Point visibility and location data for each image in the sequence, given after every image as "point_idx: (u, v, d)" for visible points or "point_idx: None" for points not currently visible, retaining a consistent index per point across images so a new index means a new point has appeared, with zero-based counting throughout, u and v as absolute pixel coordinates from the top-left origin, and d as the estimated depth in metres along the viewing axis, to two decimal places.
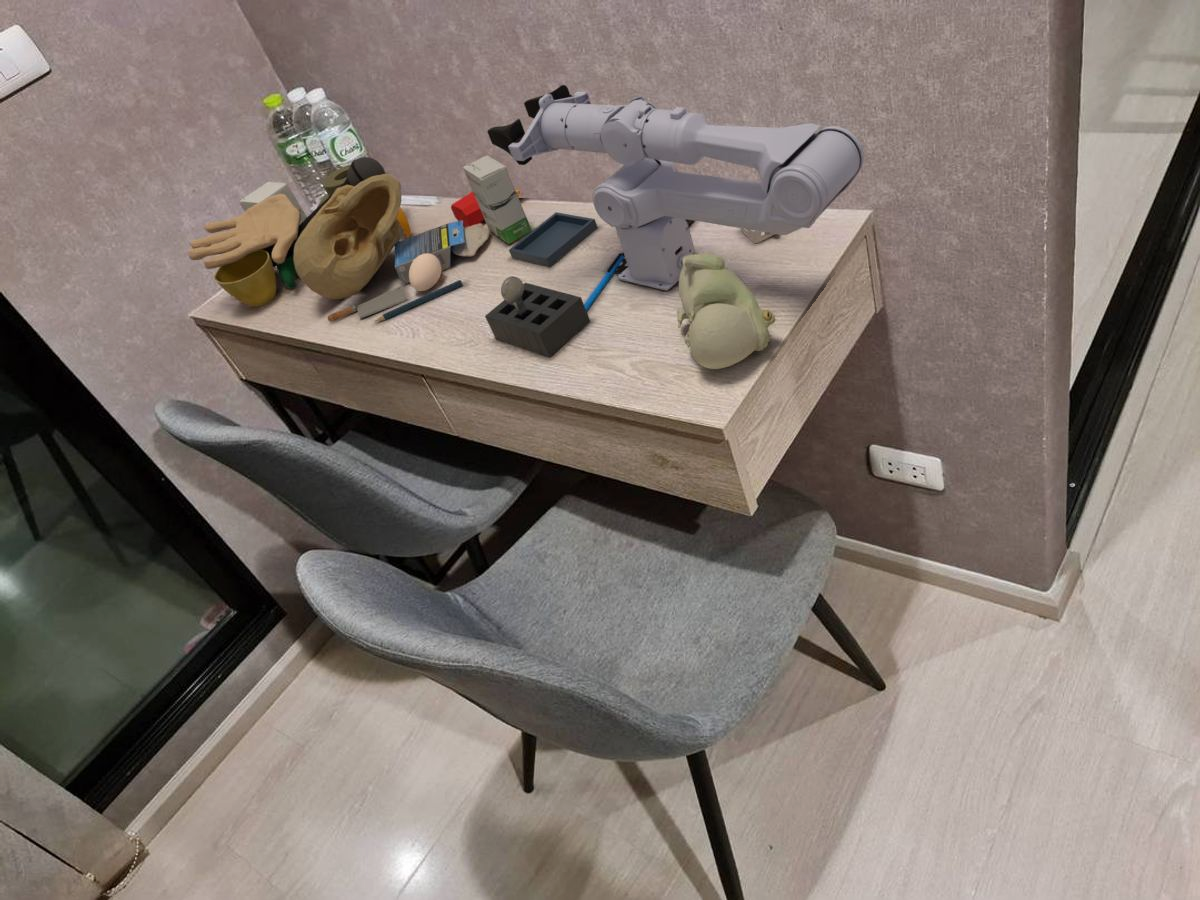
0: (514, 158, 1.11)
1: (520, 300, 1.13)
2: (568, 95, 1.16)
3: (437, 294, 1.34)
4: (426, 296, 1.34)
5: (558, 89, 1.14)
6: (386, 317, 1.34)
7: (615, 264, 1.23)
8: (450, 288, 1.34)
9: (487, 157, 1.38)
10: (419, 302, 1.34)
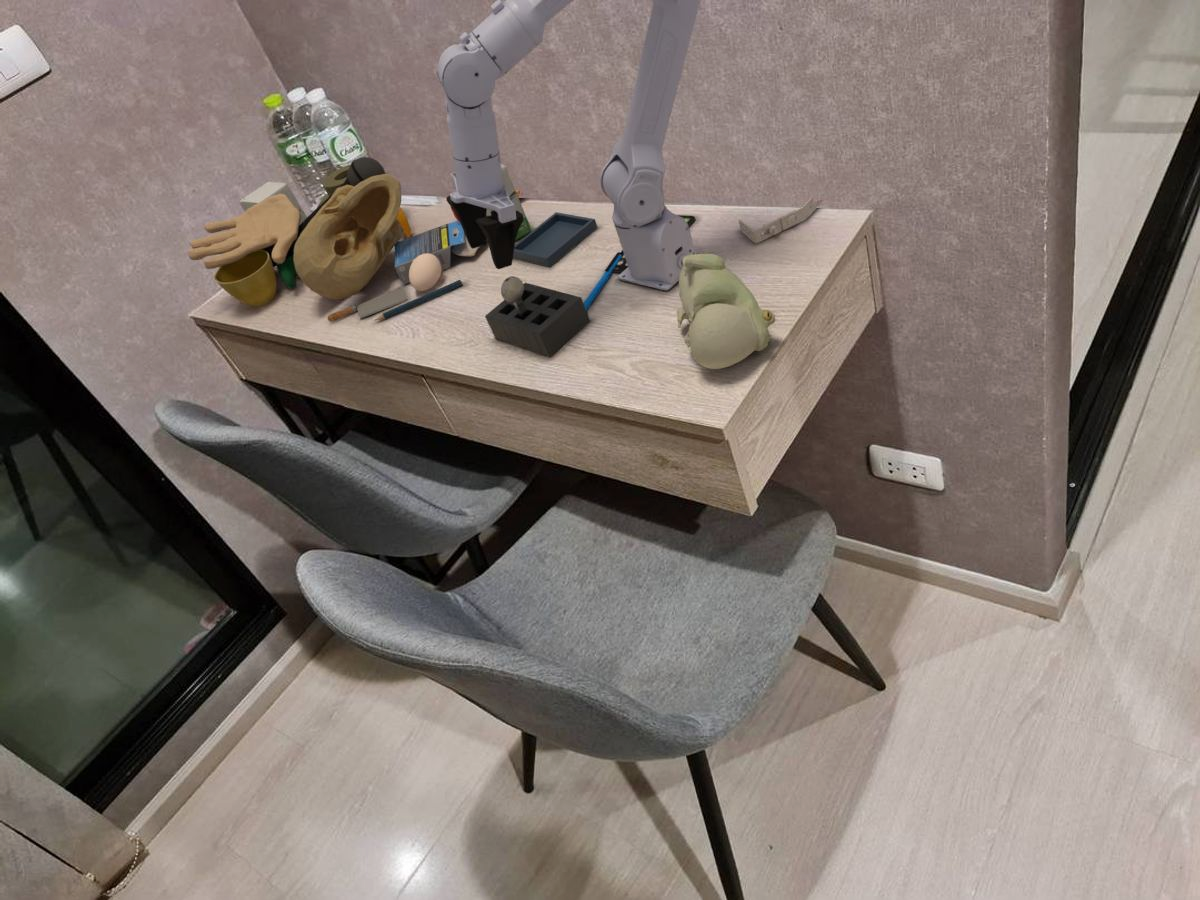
0: (514, 217, 1.03)
1: (520, 300, 1.13)
2: None
3: (437, 294, 1.34)
4: (426, 296, 1.34)
5: (450, 200, 1.10)
6: (386, 316, 1.34)
7: (613, 263, 1.23)
8: (450, 288, 1.34)
9: None
10: (418, 301, 1.34)
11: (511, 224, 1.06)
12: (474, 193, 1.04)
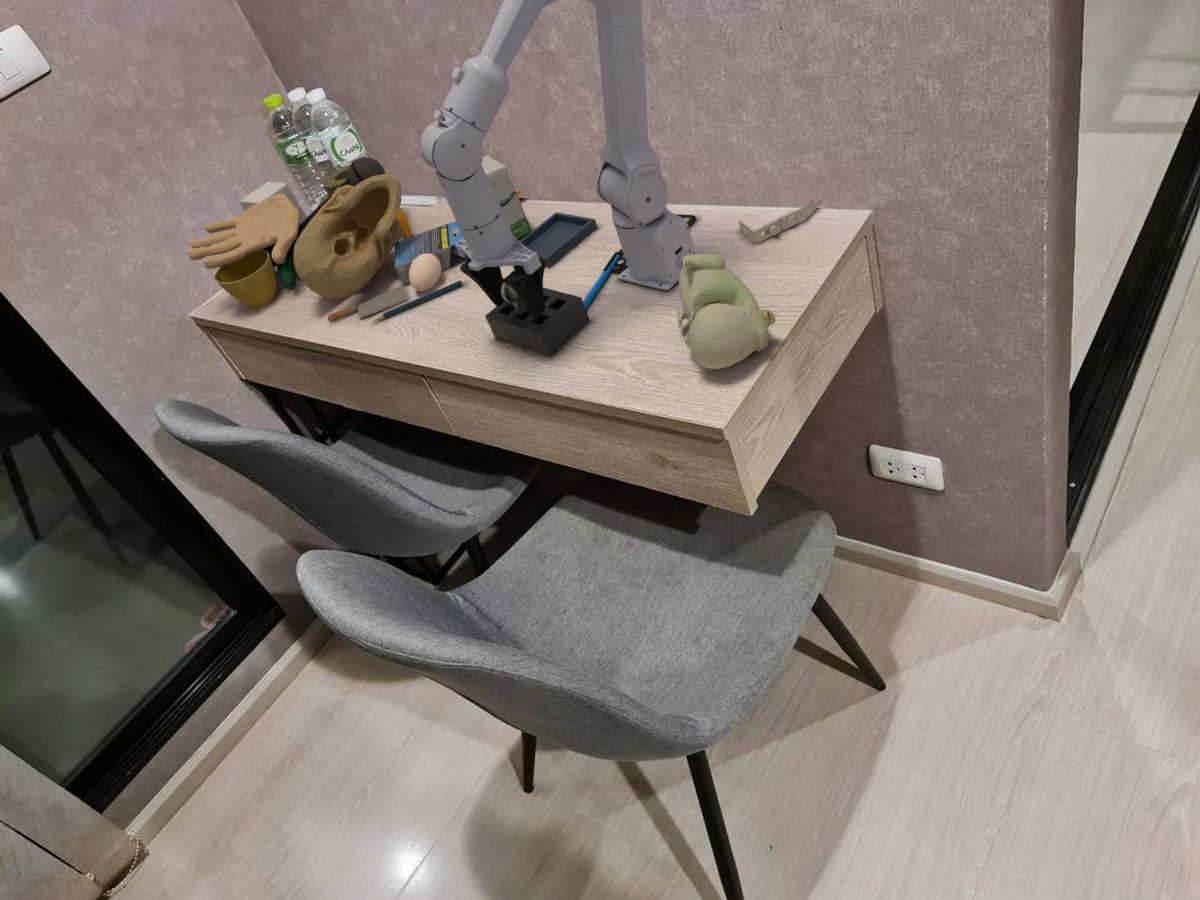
0: (539, 264, 1.04)
1: (520, 300, 1.13)
2: (467, 261, 1.13)
3: (437, 294, 1.34)
4: (426, 296, 1.34)
5: (465, 269, 1.11)
6: (386, 316, 1.34)
7: (611, 263, 1.23)
8: (451, 288, 1.34)
9: (487, 157, 1.38)
10: (419, 302, 1.34)
11: (536, 271, 1.07)
12: (492, 255, 1.05)
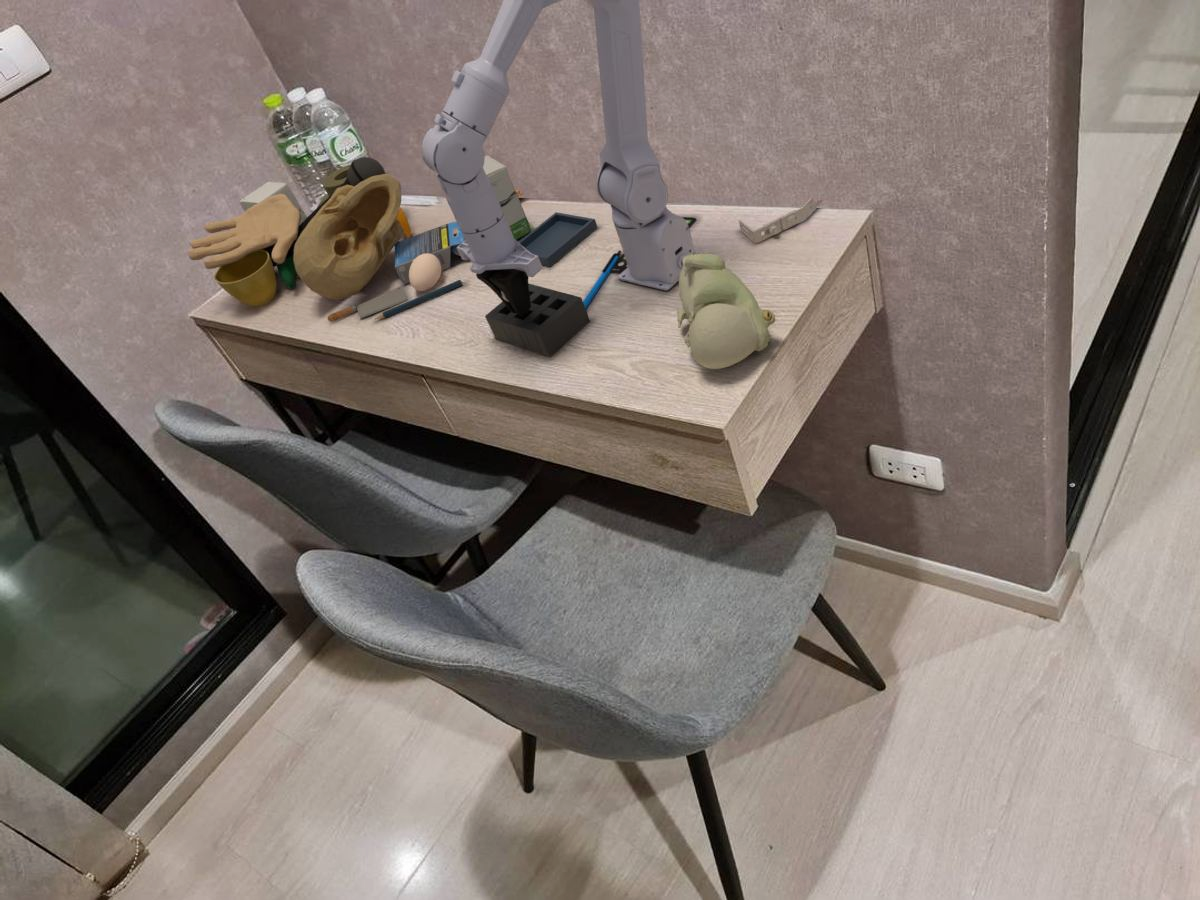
0: (540, 267, 1.05)
1: None
2: None
3: (437, 293, 1.34)
4: (426, 295, 1.34)
5: (481, 276, 1.09)
6: (386, 315, 1.34)
7: (610, 264, 1.23)
8: (450, 288, 1.34)
9: (487, 157, 1.38)
10: (418, 301, 1.34)
11: (521, 270, 1.09)
12: (494, 258, 1.06)
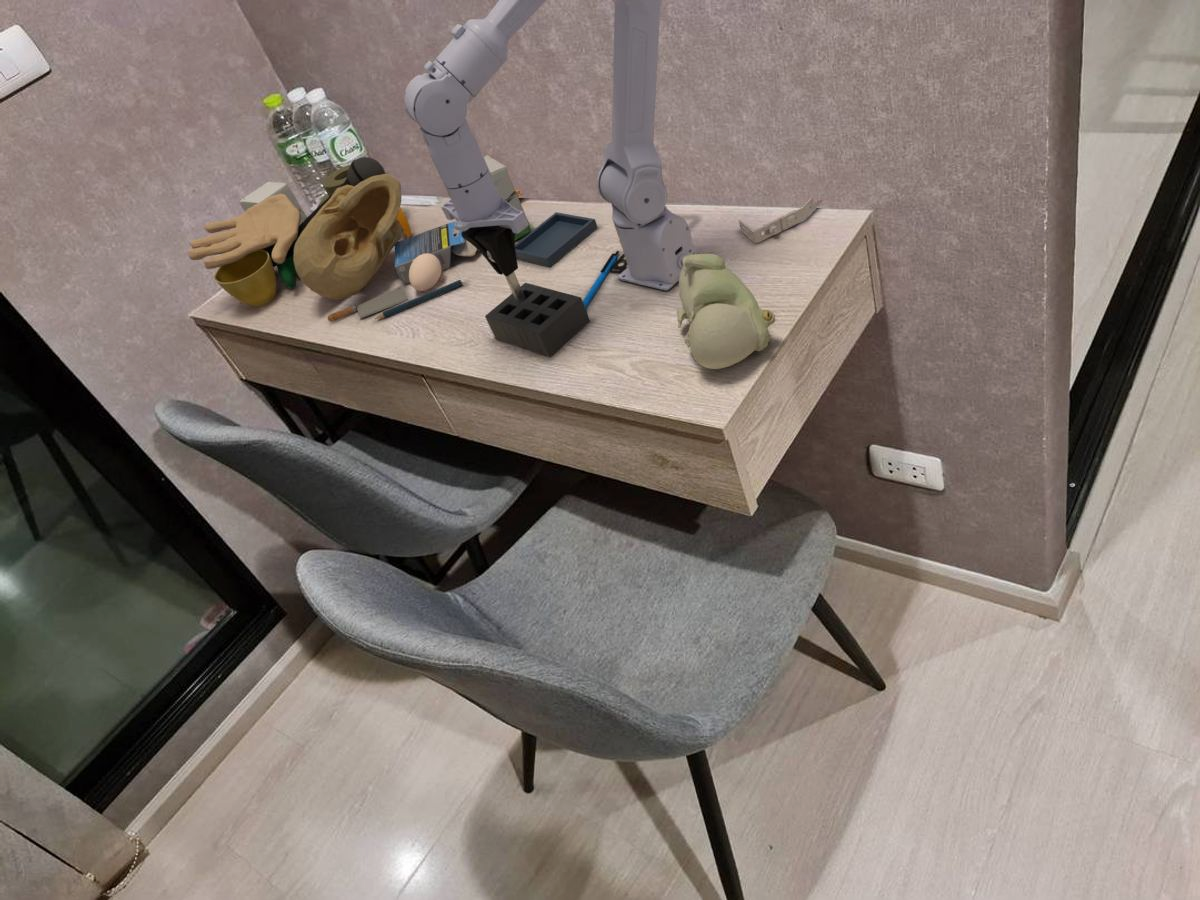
0: (526, 223, 1.02)
1: None
2: None
3: (437, 293, 1.34)
4: (426, 295, 1.34)
5: (466, 235, 1.07)
6: (385, 315, 1.34)
7: (608, 264, 1.24)
8: (450, 288, 1.34)
9: (487, 157, 1.38)
10: (418, 301, 1.34)
11: (507, 229, 1.07)
12: (478, 215, 1.03)
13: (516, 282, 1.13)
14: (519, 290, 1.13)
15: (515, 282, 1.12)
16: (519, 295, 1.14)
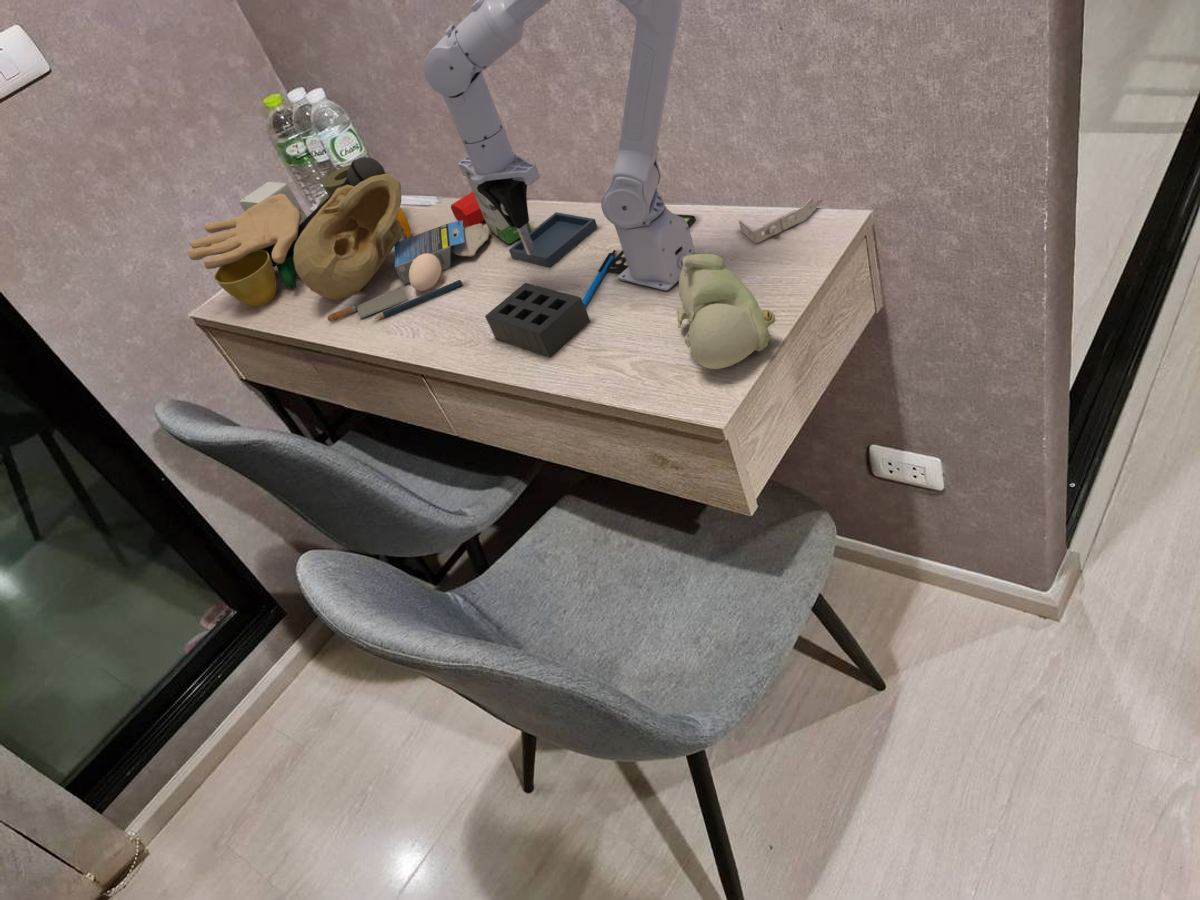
0: (538, 176, 1.10)
1: None
2: (483, 182, 1.16)
3: (437, 293, 1.34)
4: (426, 295, 1.34)
5: (482, 189, 1.15)
6: (385, 315, 1.34)
7: (606, 264, 1.24)
8: (450, 288, 1.34)
9: None
10: (418, 300, 1.34)
11: (519, 183, 1.15)
12: (494, 169, 1.11)
13: (527, 235, 1.21)
14: (530, 243, 1.22)
15: (526, 235, 1.21)
16: (530, 248, 1.22)
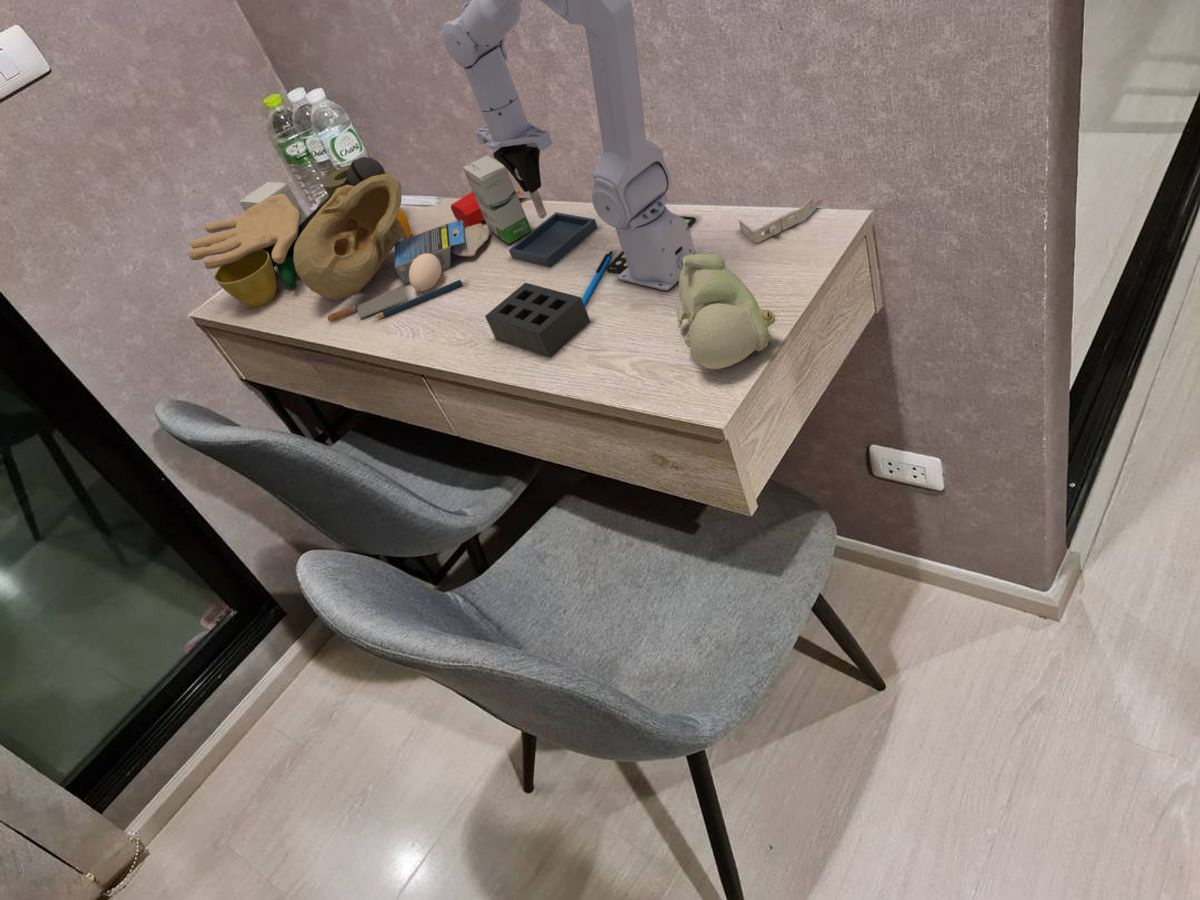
0: (550, 142, 1.19)
1: None
2: (499, 148, 1.25)
3: (437, 293, 1.34)
4: (426, 295, 1.34)
5: (498, 155, 1.24)
6: (385, 314, 1.34)
7: (603, 264, 1.24)
8: (450, 288, 1.34)
9: (487, 157, 1.38)
10: (418, 300, 1.34)
11: (533, 149, 1.24)
12: (509, 135, 1.20)
13: (539, 199, 1.30)
14: (542, 207, 1.30)
15: (538, 199, 1.29)
16: (541, 211, 1.31)
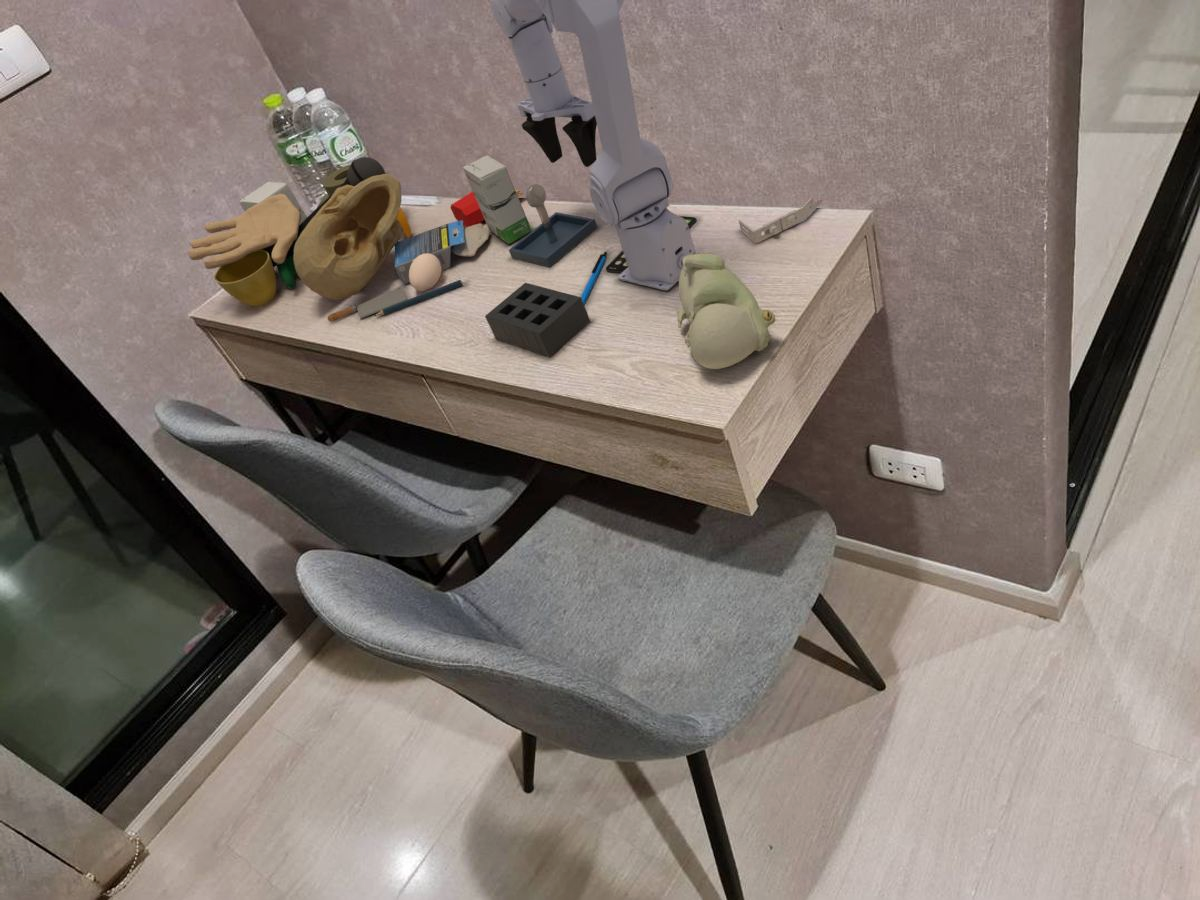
0: (594, 113, 1.20)
1: (542, 205, 1.31)
2: (527, 120, 1.28)
3: (436, 293, 1.34)
4: (425, 294, 1.34)
5: (526, 125, 1.27)
6: (385, 312, 1.35)
7: (598, 265, 1.24)
8: (450, 287, 1.34)
9: (487, 157, 1.38)
10: (418, 299, 1.34)
11: (590, 122, 1.23)
12: (553, 106, 1.21)
13: (550, 225, 1.33)
14: (552, 232, 1.34)
15: (549, 225, 1.33)
16: (552, 236, 1.34)
